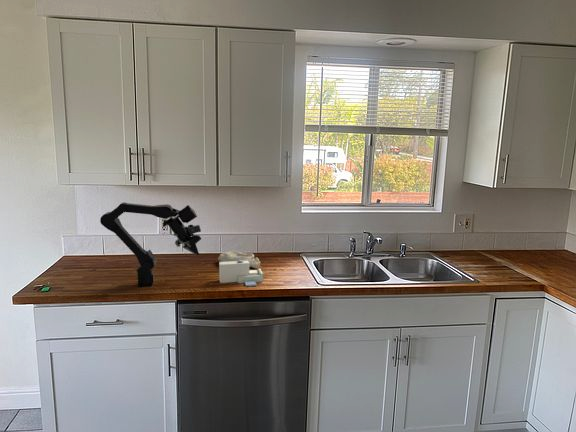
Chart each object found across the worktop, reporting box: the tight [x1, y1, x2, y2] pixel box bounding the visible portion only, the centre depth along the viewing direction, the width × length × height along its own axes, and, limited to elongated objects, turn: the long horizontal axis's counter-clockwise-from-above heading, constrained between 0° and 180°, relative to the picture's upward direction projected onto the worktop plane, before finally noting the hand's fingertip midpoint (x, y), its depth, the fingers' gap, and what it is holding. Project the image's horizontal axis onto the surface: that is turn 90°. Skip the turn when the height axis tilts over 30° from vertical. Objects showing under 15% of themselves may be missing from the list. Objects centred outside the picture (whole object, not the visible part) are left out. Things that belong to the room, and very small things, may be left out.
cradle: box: [237, 267, 264, 288], centre depth 205 cm, size 12×20×4 cm, turn 13°
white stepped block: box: [218, 260, 258, 284], centre depth 203 cm, size 18×4×10 cm, turn 103°
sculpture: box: [217, 249, 262, 269], centre depth 228 cm, size 24×11×15 cm
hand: (198, 254), depth 199 cm, fingers closed
